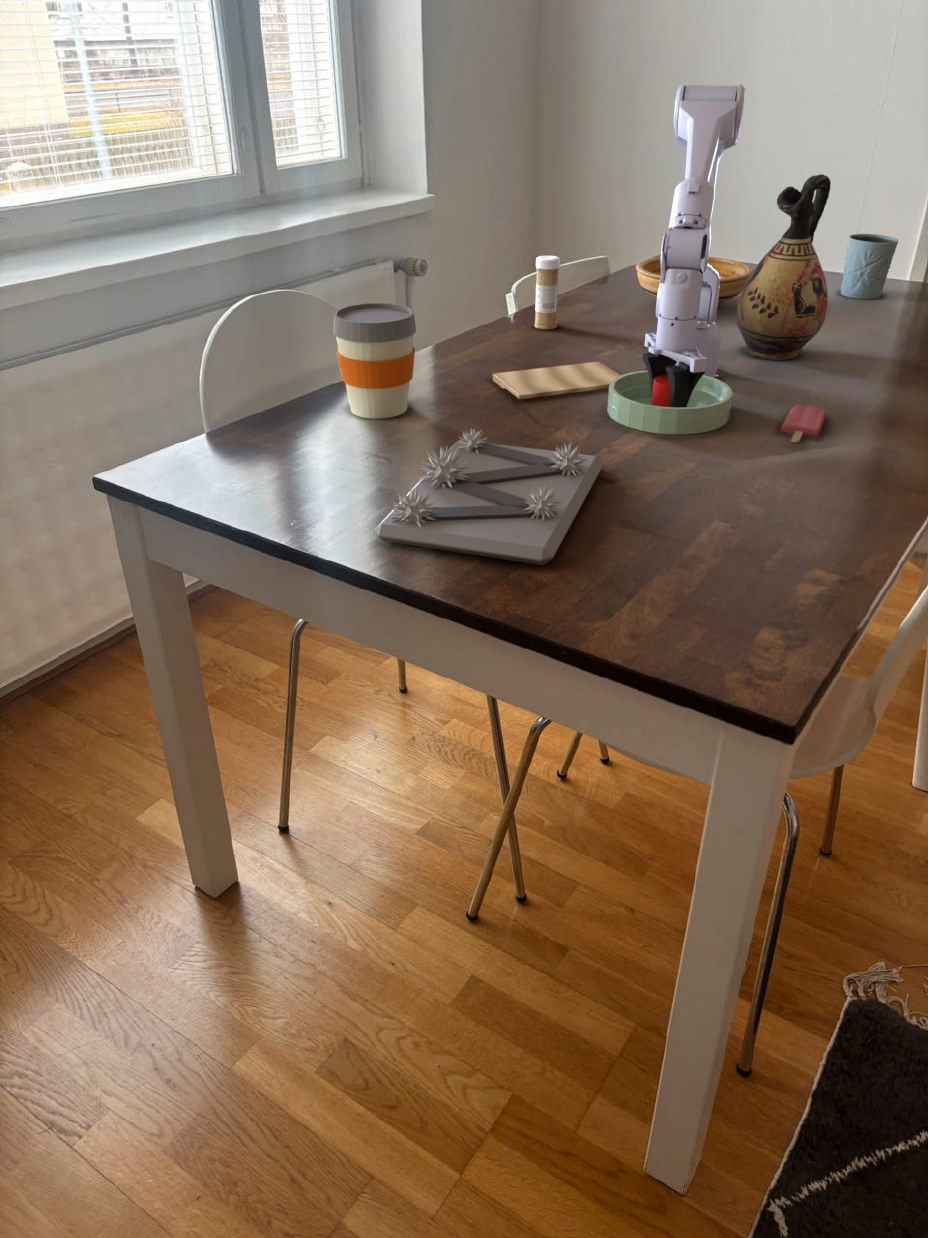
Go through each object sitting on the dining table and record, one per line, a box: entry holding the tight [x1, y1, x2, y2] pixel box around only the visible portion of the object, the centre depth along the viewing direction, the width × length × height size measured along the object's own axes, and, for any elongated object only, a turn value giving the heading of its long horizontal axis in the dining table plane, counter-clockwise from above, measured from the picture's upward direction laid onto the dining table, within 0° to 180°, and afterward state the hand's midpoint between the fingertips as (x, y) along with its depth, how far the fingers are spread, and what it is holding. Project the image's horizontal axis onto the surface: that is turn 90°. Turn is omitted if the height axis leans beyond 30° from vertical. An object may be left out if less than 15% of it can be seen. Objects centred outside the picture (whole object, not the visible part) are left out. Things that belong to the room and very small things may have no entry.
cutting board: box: [492, 361, 622, 400], centre depth 161 cm, size 20×12×1 cm, turn 109°
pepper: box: [651, 375, 670, 407], centre depth 146 cm, size 5×5×7 cm
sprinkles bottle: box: [534, 255, 561, 331], centre depth 188 cm, size 5×5×13 cm
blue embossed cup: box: [840, 233, 899, 300], centre depth 210 cm, size 10×10×12 cm
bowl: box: [606, 369, 734, 436], centre depth 146 cm, size 18×18×4 cm
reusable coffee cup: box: [332, 302, 417, 420], centre depth 147 cm, size 13×13×15 cm
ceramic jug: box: [736, 173, 832, 361], centre depth 168 cm, size 17×15×30 cm
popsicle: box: [780, 404, 827, 444], centre depth 142 cm, size 5×2×15 cm
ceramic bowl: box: [635, 256, 754, 304], centre depth 204 cm, size 30×24×8 cm
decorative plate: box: [373, 428, 604, 566], centre depth 119 cm, size 30×22×7 cm
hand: (668, 405), depth 147 cm, fingers closed on pepper, 5 cm apart
